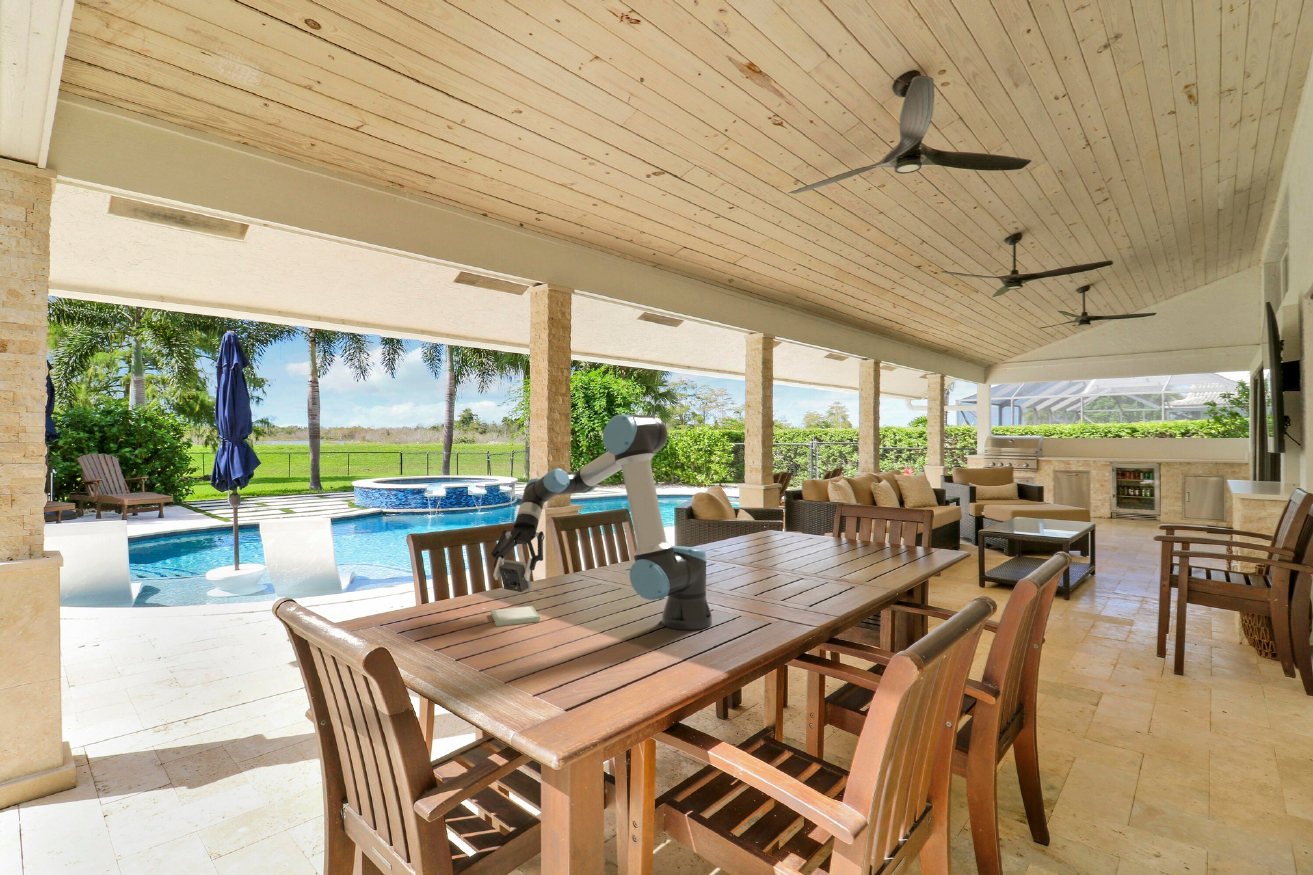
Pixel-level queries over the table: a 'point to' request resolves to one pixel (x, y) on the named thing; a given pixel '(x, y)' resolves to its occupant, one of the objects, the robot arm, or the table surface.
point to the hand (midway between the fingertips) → (510, 577)
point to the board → (515, 615)
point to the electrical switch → (514, 576)
